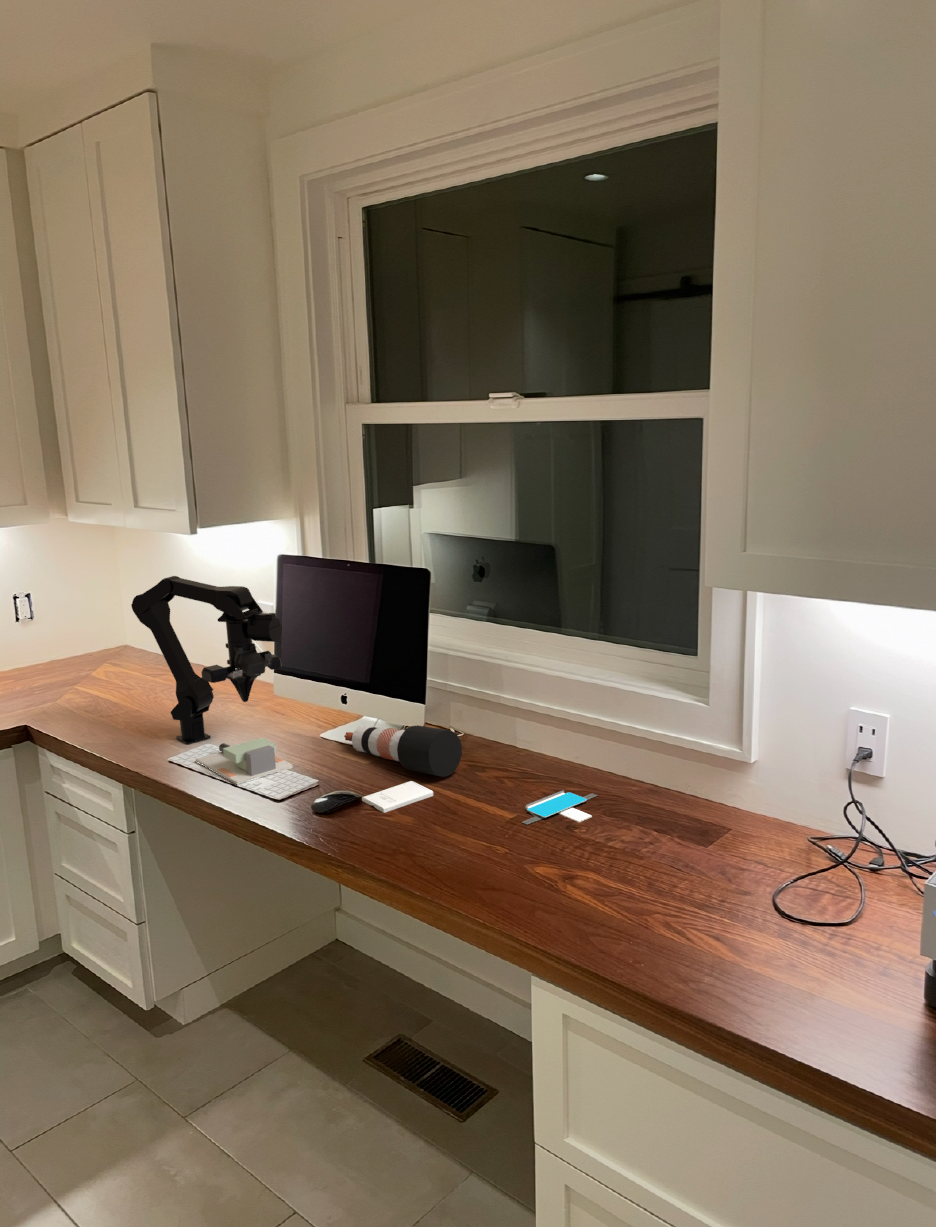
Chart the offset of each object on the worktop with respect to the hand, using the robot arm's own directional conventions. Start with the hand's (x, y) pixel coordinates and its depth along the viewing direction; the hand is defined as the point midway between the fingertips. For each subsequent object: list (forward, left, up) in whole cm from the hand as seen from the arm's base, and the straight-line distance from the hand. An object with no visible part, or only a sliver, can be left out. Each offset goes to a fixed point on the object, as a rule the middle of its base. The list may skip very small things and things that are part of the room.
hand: (245, 701), depth 226 cm
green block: (+15, -8, -10) cm, 20 cm away
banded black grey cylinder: (+36, +18, -11) cm, 42 cm away
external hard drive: (+53, +6, -12) cm, 55 cm away
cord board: (+12, -8, -11) cm, 18 cm away
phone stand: (+82, +25, -12) cm, 86 cm away
